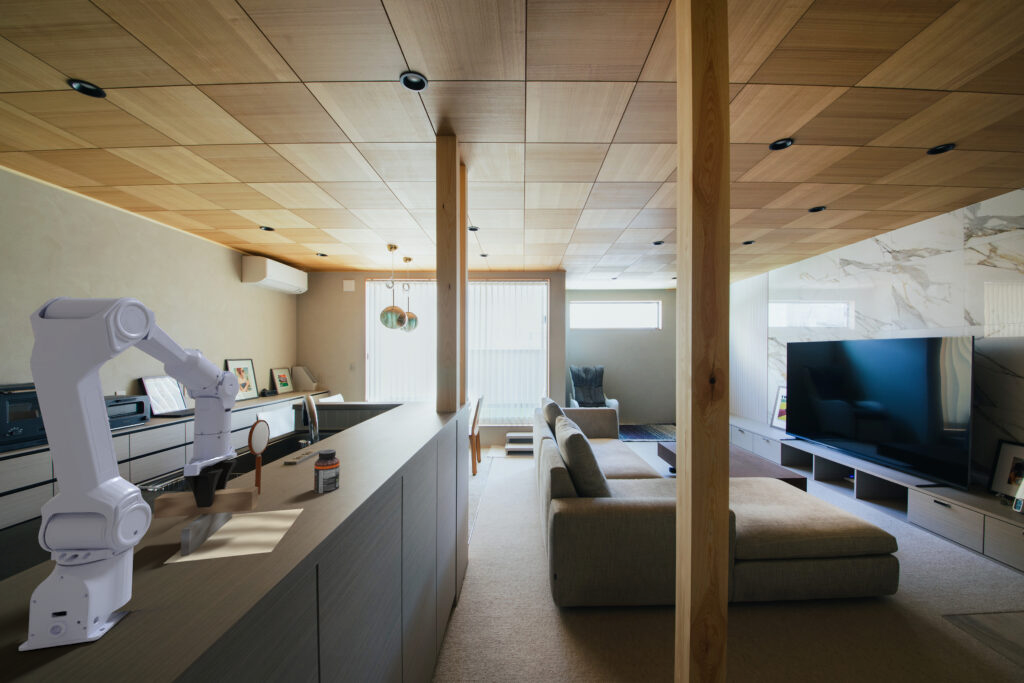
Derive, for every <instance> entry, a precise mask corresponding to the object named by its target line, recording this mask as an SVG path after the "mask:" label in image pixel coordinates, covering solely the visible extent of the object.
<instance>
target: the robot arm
mask: <svg viewBox="0 0 1024 683" xmlns="http://www.w3.org/2000/svg"><path fill="white" fill-rule="evenodd" d="M29 320H30V321H29V322H30V324H31V329H32V333H33V337H34V343H33V347H32V350H31V354H30V355H31V356H30V359H29V360H30V361H29V364H30V371H31V372H30V373H31V376H32V379H33V384H34V387H35V393H36V396H37V402H38V406H39V410H40V413H41V417H42V422H43V426H44V429H45V430H44V431H45V433H46V434H45V435H46V438H47V442H48V448H49V452H50V456H51V460H52V463H53V464H52V465H53V467H54V472H55V477H56V481H57V485H58V489H59V492H58V493H56V494H55V495H54V496H53V497H51V498H50V499H49V500H48V501H47V502H46V503H44V505H43V506H40V507H41V508H40V513H41V519H42V520H41V524H40V527H39V530H38V531H39V532H38V536H37V537H38V538H37V539H38V543H39V545H40V547H41V548H42V549H43V550H44V551H47V552H51V554H50V560H51V561H56V563H55V566H54V568H53V570H52V572H51V573H50V574H49V576H47V577H46V578H45V579H44V580H43V581H42V582H41V583H40V584H38V586H37V587H36V588H35V590H33V592H32V594H31V597H30V601H29V616H28V618H29V619H28V620H29V621H28V636H27V637H28V638H27V640H26V641H25V642H23V643H22V644H20V645H19V646H18V651H19V652H24V651H30V650H38V649H43V648H50V647H52V648H53V647H57V646H65V645H72V644H80V643H85V642H92V641H96V640H99V639H100V638H101V637H102V636H103V635H104V634H106V632H108V631H109V630H110V629H112V628H113V627H114V626H115V625H116V624H117V623H119V622H120V620H122V619H123V618H124V617H125V616H127V614H128V613H130V612H131V610H125V611H117V610H119V609H120V608H122V607H123V606H124V605H126V604H127V603H128V602H129V601H130V600H131V599H132V593H133V592H132V589H133V588H132V587H133V566H134V565H133V564H134V562H133V561H134V546H137V545H139V543H140V541H141V539H143V538H144V536H145V535H146V533H147V531H148V529H149V527H150V526H151V522H152V509H151V506H150V505H149V503H147V501H145V499H144V498H143V495H142V491H141V489H140V487H138V486H136V485H135V484H133V483H131V482H130V481H128V480H126V479H124V478H123V477H122V476H121V475H120V471H119V466H118V465H119V464H118V460H117V455H116V451H115V450H116V449H115V445H114V441H113V436H112V435H113V434H112V432H111V425H110V421H109V416H108V410H107V405H106V401H105V396H104V391H103V385H102V381H101V377H100V371H99V370H100V369H101V368H102V367H103V366H104V365H105V364H106V362H108V361H111V360H113V359H114V358H116V357H118V356H119V355H121V354H122V353H124V352H125V351H127V350H128V349H130V348H131V347H134V348H136V349H138V350H140V351H142V352H143V353H145V354H147V355H149V356H150V357H152V358H154V359H156V360H157V361H159V362H161V363H163V364H164V365H163V370H164V373H165V374H166V375H167V376H169V377H170V378H171V379H174V380H175V381H176V382H178V383H179V384H181V385H182V386H183V387H184V388H185V390H186V393H187V395H188V397H189V399H191V400H192V399H193V400H194V418H193V420H194V421H193V449H192V451H193V452H192V456H191V458H190V460H189V461H188V462H187V463H185V464H184V466H183V479H185V481H186V482H187V484H188V485H189V486H190V489H191V492H193V494H194V497H195V501H196V504H197V507H198V508H203V507H210V506H212V504H213V500H214V495H215V490H222V489H227V488H226V487H227V484H228V481H229V478H230V476H231V473H232V471H233V470H234V468H235V466H236V464H237V459H235V458H236V457H238V456H237V455H238V453H237V452H236V446H234V445H233V446H231V436H232V435H231V434H232V431H231V430H232V411H233V410H232V409H233V408H234V407H235V404H236V397H237V395H238V393H239V390H240V386H241V385H240V383H239V378H238V376H237V375H236V374H235V373H233V372H232V371H231V370H230V371H229V370H222V369H221V368H220V367H219V366H218V365H217V364H216V363H214V362H212V361H211V360H209V359H208V357H206V356H205V355H203V351H202V350H200V349H197V348H195V349H194V348H183V347H182V346H181V345H180V344H179V342H177V341H175V339H174V338H172V337H171V335H169V334H168V333H167V332H166V331H165V330H164V329H163V328H162V327H160V325H159V324H157V323H156V321H157V320H156V313H155V311H153V310H152V309H150V308H149V307H147V306H146V305H145V304H144V302H142V301H141V300H140V299H137V298H135V297H132V296H131V297H129V296H128V297H127V296H124V297H123V296H122V297H119V298H118V297H116V298H115V297H113V298H112V297H107V298H106V297H102V298H101V297H71V296H57V297H53V298H50V299H48V300H47V301H45V302H44V303H43V304H42V305H40V306H39V307H38V308H37V309H36V310H35V311H33V312H32V313H31V314H30V315H29ZM115 611H117V612H115Z"/></svg>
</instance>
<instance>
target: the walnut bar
mask: <svg viewBox="0 0 1024 683" xmlns="http://www.w3.org/2000/svg"><path fill="white" fill-rule="evenodd" d="M258 505H259V495H258V487H255V486H250V487H239V488H225V489H222V490H215V495H214V500H213V504H212V506H210V507H203V508H198V507H197V504H196V501H195V497H194V494H193V491H185V492H183V491H182V492H173V493H172V492H169V493H168V492H167V493H162V494H161V495H159V496H158V497H155V498H154V505H153V506H154V507H153V512H154V513H153V519H155V520H156V519H165V518H166V519H167V518H177V517H189V516H201V515H203V514H214V513H226V512H232V513H234V512H235V513H236V512H245V511H246V512H248V511H253V510H254V509H255V508H256V507H257V506H258Z"/></svg>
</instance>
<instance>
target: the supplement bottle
mask: <svg viewBox="0 0 1024 683" xmlns="http://www.w3.org/2000/svg"><path fill="white" fill-rule="evenodd" d="M336 456H337V453H336V450H335V449H323V450H320V451H318V459H317V460H316V461H315V462H314V470H313V472H314V473H313V474H314V478H313V479H314V481H313V491H314V493H318V494H325V493H332V492H334V491H337V490H339V489H340V459H339V458H338V457H336Z"/></svg>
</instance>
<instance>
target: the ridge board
mask: <svg viewBox="0 0 1024 683" xmlns="http://www.w3.org/2000/svg"><path fill="white" fill-rule="evenodd" d="M303 511H304V508H296V509H295V508H294V509H285V510H284V509H282V510H281V509H280V510H270V511H258V512H247V513H246V512H245V513H235V514H234V513H233V512H226V513H214V514H203V515H199V516H198V517H197V518H195V519H194V520H193V521H191V522H190V523H189V524H188V525H186V526H185V527H183V528H182V529H181V533H180V534H181V536H180V537H181V538H180V540H181V541H180V549H179V550H178V551H177V552H175V554H173V555H172V556H171V557H169V558H168V559H167V560H166V561H165V562H163V564H164V565H165V564H171V563H172V564H173V563H180V562H181V563H182V562H191V561H201V560H210V559H219V558H227V557H228V558H229V557H236V556H237V557H238V556H246V555H256V554H265V553H272V551H274V549H275V548H276V547H277V545H278V544H279V543H280V541H281V539H282V538H283V537H284V536H285V534H286V533H287V532H288V530H289V529H290V528H291V526H292V525H293V524H294V522H296V520H297V518H298V517H299V516H300V515H301V514H302V512H303Z"/></svg>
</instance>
